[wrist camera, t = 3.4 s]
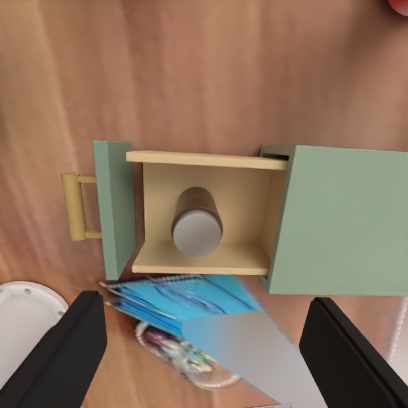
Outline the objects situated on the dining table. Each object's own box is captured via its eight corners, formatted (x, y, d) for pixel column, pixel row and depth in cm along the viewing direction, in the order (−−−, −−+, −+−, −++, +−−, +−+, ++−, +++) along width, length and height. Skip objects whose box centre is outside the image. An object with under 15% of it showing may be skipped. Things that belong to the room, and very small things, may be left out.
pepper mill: (170, 203, 24) (157, 235, 15) (197, 178, 23) (199, 198, 14) (195, 227, 25) (195, 270, 16) (221, 205, 24) (236, 238, 15)
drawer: (94, 245, 26) (60, 279, 19) (82, 139, 22) (35, 136, 16) (261, 250, 28) (283, 283, 21) (278, 151, 24) (310, 153, 17)
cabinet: (246, 250, 28) (268, 294, 20) (260, 145, 24) (296, 144, 16) (373, 254, 30) (444, 297, 21) (408, 154, 26) (513, 158, 17)
